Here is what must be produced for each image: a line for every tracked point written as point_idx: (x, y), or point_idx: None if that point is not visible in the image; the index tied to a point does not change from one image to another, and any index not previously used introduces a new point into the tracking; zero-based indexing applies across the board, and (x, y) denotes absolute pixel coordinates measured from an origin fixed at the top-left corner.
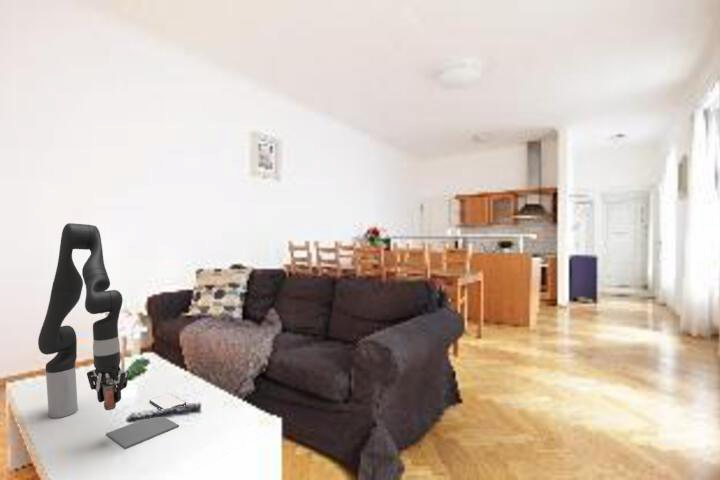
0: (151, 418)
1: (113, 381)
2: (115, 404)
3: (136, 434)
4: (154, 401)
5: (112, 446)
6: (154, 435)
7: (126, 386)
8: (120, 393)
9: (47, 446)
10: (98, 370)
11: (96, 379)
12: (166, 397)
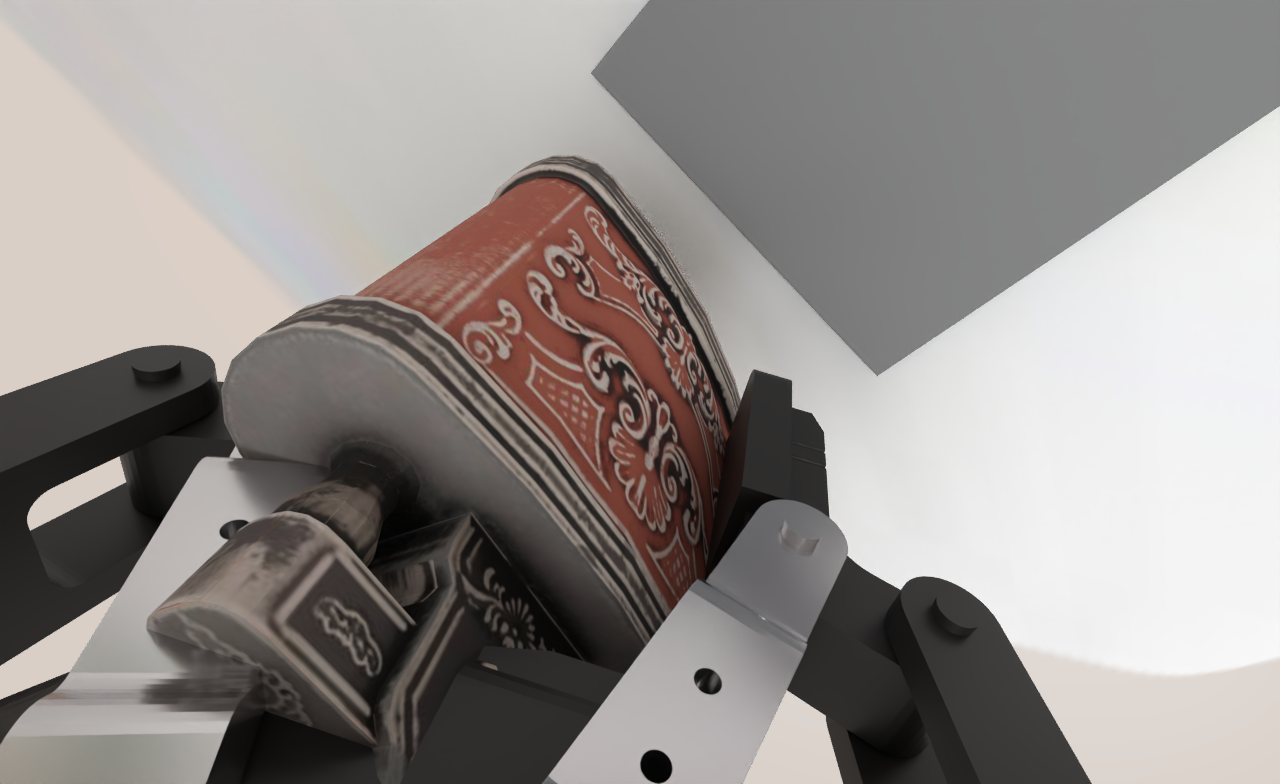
0: None
1: (556, 539)
2: (734, 402)
3: (924, 155)
4: None
5: (751, 303)
6: (1128, 203)
7: (994, 617)
8: (821, 504)
9: (236, 202)
10: None
11: (8, 512)
12: None
